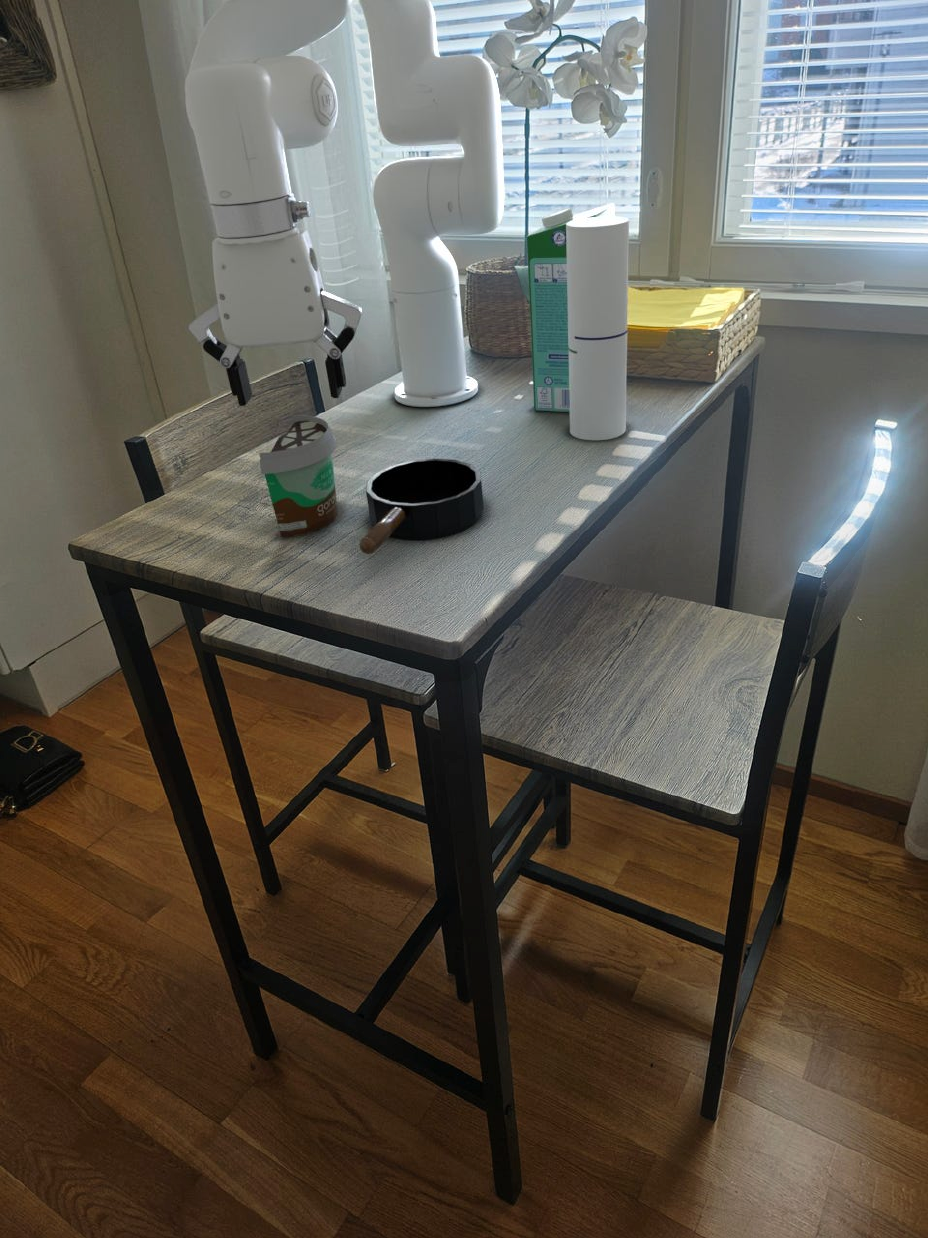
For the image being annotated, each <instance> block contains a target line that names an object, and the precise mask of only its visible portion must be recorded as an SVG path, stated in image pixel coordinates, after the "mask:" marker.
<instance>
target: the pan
mask: <svg viewBox="0 0 928 1238" xmlns="http://www.w3.org/2000/svg"><path fill="white" fill-rule="evenodd" d="M365 495H366V503H367V508H368V515H369V519H370V522H371V525H372V528H371V529H370V530H369V531H368V532H367V533H366V534H365V535H364V536H363V537H362V538H361V539H360V540H359V550H360V551H361V552H362V553H363V554H366V555H371V554H373V553H375V552H376V551H377V550H378V549H379V547H381V545H383V544H384V542H385V541H386V540H387V539H389V538H393V539H396V540H404V541H429V540H436V539H442V538H446V537H450V536H454V535H456V534H457V535H458V534H459V533H462V532H464V531H466V530H468V529H470V528H472V527H473V526H474V525H476V524H477V523H478V522H479V521H480V520H481V519H482V517H483V515H484V511H485V510H484V509H485V508H484V496H483V495H484V493H483V483H482V473H481V471H480V470H479V468H476V467H475V466H474V465H473V464H471V463H469V462H464V461H461V460H457V459H449V458H426V459H416V460H415V459H414V460H410V461H405V462H401V463H397V464H393V465H391V466H389V467H385V468H384V469H381V470H380V471H378V472H376V473H375V474H374V475H373V476H372V477H371V478H369V479H368V480H367V482H366V486H365Z"/></svg>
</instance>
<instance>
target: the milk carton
mask: <svg viewBox="0 0 928 1238" xmlns="http://www.w3.org/2000/svg"><path fill="white" fill-rule="evenodd" d="M572 211H573V210H572V208H565V209H562V210H559V211H557V212H554V213H550V214H548V215H545V216H543V217H542V218H541V222H542V227H540V228H539V229H537V230H535V231H533V232H531V233H529V234H528V235H527V236H526V251H527V252H526V253H527V276H528V297H529V301H528V302H529V321H530V322H529V323H530V324H529V325H530V343H531V345H530V346H531V366H532V367H531V369H532V388H533V389H532V390H533V391H532V393H533V410H534V411H537V412H538V411H540V412H557V413H558V412H559V413H570V400H569V347H568V297H567V243H566V223H567V222H569V221H572V220H577V219H582V218H590V217H603V216H615V203H609V204H606V205H603V206H599V207H597V208H596V207H595V208H594V209H591V210H588V211H584V212H581V213H577V214H575V215H573V212H572Z"/></svg>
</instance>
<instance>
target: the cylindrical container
mask: <svg viewBox="0 0 928 1238" xmlns="http://www.w3.org/2000/svg"><path fill="white" fill-rule="evenodd" d="M629 241H630V219H629V218H628V217H625V216H616V215H614V216H603V217H590V218H582V219H577V220H572V221H569V222H567V223H566V243H567V297H568V347H569V400H570V412H569V433H570V434H571V436H573V437H575V438H577V439H579V440H585V441H606V440H607V441H608V440H611V439H616V438H618V437H620V436H622V435H624V434H625V432H626V430H627V376H628V375H627V369H628V368H627V365H628V362H627V361H628V358H627V357H628V314H629V313H628V312H629V311H628V307H629V305H628V304H629V302H628V301H629V248H630V247H629V243H630V242H629Z"/></svg>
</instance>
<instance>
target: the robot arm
mask: <svg viewBox="0 0 928 1238" xmlns="http://www.w3.org/2000/svg"><path fill="white" fill-rule="evenodd" d="M352 2H353V0H225V1H224V2H223V3H222V4H221V5H220V6H219V7H218V8H217V10H216V11H215V12H214V13H213V14H212V15H211V17H210V18H209V19H208V21H207V23H206V24H205V26H204V28H203V29H202V32H201V33H200V35H199V38H198V41H197V45H196V46H195V50H194V53H193V56H192V59H191V63H190V66H189V70H188V73H187V76H186V77H185V81H184V93H185V101H184V102H185V111H186V114H187V119H188V122H189V125H190V127H191V129H192V131H193V136H194V139H195V143H196V148H197V152H198V157H199V161H200V165H201V170H202V174H203V179H204V184H205V188H206V193H207V196H208V201H209V205H210V210H211V214H212V219H213V223H214V228H215V232H216V238H215V239H213V240H212V242H211V245H212V246H211V249H212V250H211V251H212V253H211V254H212V268H213V277H214V278H213V279H214V287H215V288H214V289H215V294H216V301H217V303H216V304H214V305H213V306H212V307H210V308H209V309H207V310H206V311H204V312H203V313H202V314H200V315H199V316H198V317H197V318H195V319H194V320H192V321H191V322H190V324H189V325H188V330H189V331H190V333H191V334H192V335H193V337H194V338H195V339H196V341H197V342H198V343H199V344H200V345H201V346H202V349H203V350H204V352H206V353H207V354H208V355H209V356H211V357H212V358H213V359H215V360H216V361H217V362H219V364H220V366H221V367H222V368H223V369H225V371H226V375H227V378H228V383H229V387H230V392H231V395H232V396H233V397H236V398H237V403H238V406H239V407H246V405H247V404H248V403H249V402H250V400H251V399H252V397H253V392H252V387H251V382H250V379H249V374H248V369H247V365H246V362H245V360H244V359H243V358H241V356H240V354H241V353H242V351H243V349H245V348H261V347H272V346H273V347H274V346H283V345H295V344H305V343H311V342H313V343H314V344H315V345H316V346H318V347H319V348H320V349H321V351H323V352H324V353H325V354H326V358H325V360H324V364H325V370H326V371H325V372H326V376H327V381H328V387H329V394H330V397H331V398H333V399H339V398H340V396H341V393H342V391H343V388H346V386H347V377H346V372H345V371H346V370H345V364H344V360H343V352H344V351H345V350H346V349H347V348H348V346H349V345H350V343H351V342H352V341H353V339H354V337H355V335H356V333H357V329H358V327H359V324H360V321H361V317H362V315H363V308H362V307H361V306H360V305H358V304H355V303H353V302H351V301H348V300H346V299H343V298H341V297H338V296H336V295H334V294H331V293H329V292H328V291H327V292H326V290H325V286H324V283H323V277H322V274H321V270H320V266H319V263H318V259H317V254H316V252H315V249H314V245H313V242H312V239H311V237H310V234H309V232H308V229H307V228H303V227H302V228H299V227H298V225H299V223H300V221H301V220H303V219H304V218H311V214H312V212H311V206H310V202H309V201H301V200H297V198H295V194H294V193H293V192H292V187H291V182H290V176H289V169H288V166H287V159H286V153H285V150H293V149H304V148H305V149H306V148H310V147H313V146H316V145H318V144H320V143H321V142H323V141H324V140H326V139H327V138H328V136H329V135H330V134H331V132H332V131H333V129H334V127H335V125H336V122H337V118H338V111H339V106H338V105H339V102H338V95H337V90H336V86H335V84H334V82H333V80H332V77H331V75H330V74H329V73H328V72H327V70H326V69H325V68H324V67H323V66H322V65H321V64H320V63H318V62H317V61H316V60H314V59H311V58H309V57H307V56H303V55H291V54H293V53H295V52H297V51H300V50H302V49H304V48H306V47H308V46H310V45H312V44H314V43H316V42H317V41H318V40H321V39H322V38H324V37H326V36H327V35H329V34H330V33H332V32H333V31H335V30H336V29H338V28H339V27H340V26H341V24H342V23H344V21H345V20H346V19H347V16H348V15H349V13H350V10H351V5H352ZM357 2H358V4H359V7H360V9H361V12H362V14H363V18H364V20H365V25H366V26H365V27H366V30H367V38H368V46H369V55H370V65H371V74H372V75H371V76H372V85H373V93H374V104H375V111H376V119H377V123H378V127H379V130H380V133H381V135H382V138H383V139H384V140H385V141H386V142H387V143H390V144H391V145H394V146H398V147H424V146H425V147H426V146H438V145H439V146H440V145H451V144H452V145H453V144H457V145H459V146H460V147H461V150H462V154H463V155H453V156H451V155H450V156H427V157H426V156H425V157H411V158H403V159H399V160H395V161H392V162H390V163H388V164H386V165H385V166H383V167H382V168H381V169H380V170H379V171H378V173H377V175H376V176H375V179H374V182H373V186H372V198H373V205H374V209H375V214H376V217H377V220H378V223H379V226H380V230H381V235H382V238H383V242H384V246H385V251H386V257H387V261H388V262H387V263H388V268H389V277H390V284H391V291H392V292H391V293H392V300H393V307H394V316H395V317H394V318H395V324H396V333H397V339H398V348H399V349H398V350H399V358H400V365H401V372H402V382H401V383H400V384H398V385H397V386H396V387H395V388H394V389H393V394H394V399H395V400H396V401H397V402H398V403H400V404H402V405H405V406H408V407H415V408H416V407H417V408H432V407H433V408H434V407H445V406H449V405H455V404H459V403H461V402H464V401H467V400H468V399H471V398H473V397H474V396H475V395H476V394H477V393H478V391H479V383H478V381H477V380H476V379H475V378H473V377H471V376H469V375H467V363H466V351H465V340H464V327H463V315H462V303H461V292H460V279H459V270H458V266H457V263H456V261H455V259H454V257H453V255H452V253H451V252H450V250H449V249H448V248H447V246H446V245H445V244H444V242H443V240H441V237H451V236H473V235H484V234H488V233H491V232H493V231H495V230H496V229H497V228H498V227H499V226H500V224H501V223H502V219H503V215H504V211H505V210H504V208H505V178H504V156H503V153H504V152H503V137H502V136H503V134H502V111H501V100H500V99H501V98H500V90H499V86H498V81H497V77H496V75H495V72H494V70H493V68H492V66H491V65H490V63H489V62H488V61H487V60H486V59H484V58H483V57H481V56H479V55H475V54H474V55H473V54H461V55H460V54H459V55H449V56H440V52H439V47H438V46H439V45H438V37H437V23H436V15H435V10H434V7H433V4H432V2H431V1H430V0H357ZM330 312H332V313H334V314H336V315H339V316H341V317H343V318H344V320H345V323H344V325H343V328H342V330H341V331H340V332H339V334H338V335H337V334H335V332H333V331H332V330H331V329H330V328H329V326H330V322H331V317H330ZM219 320H220V323H221V327H222V331H223V335H224V338H225V340H226V342H227V343H228V344H227V345H226V344H224V343H223V342H222V341H221V340H219V339H218V338H217V337H215V336H214V335H213V334H212V332H211V330H210V326H213V324H215V323H216V322H218V321H219Z"/></svg>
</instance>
